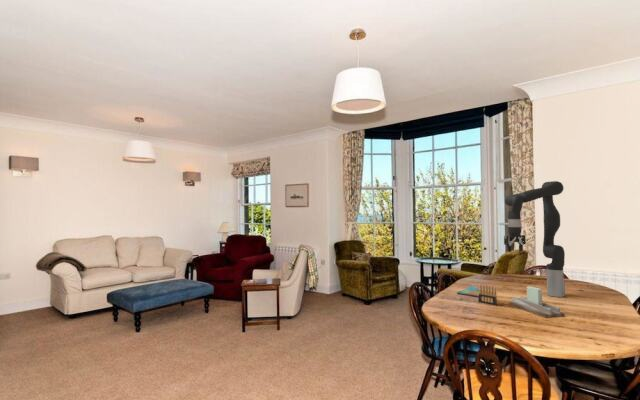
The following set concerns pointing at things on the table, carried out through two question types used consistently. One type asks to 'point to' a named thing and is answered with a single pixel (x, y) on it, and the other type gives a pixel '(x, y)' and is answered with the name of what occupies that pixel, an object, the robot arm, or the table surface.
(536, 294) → the door panel
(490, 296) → the ammunition clip
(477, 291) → the dish towel
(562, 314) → the board
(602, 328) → the table surface
